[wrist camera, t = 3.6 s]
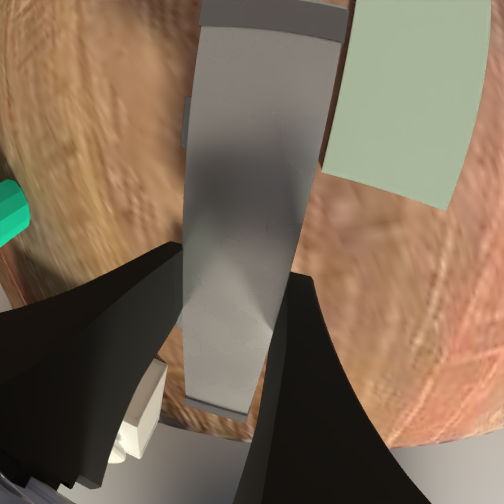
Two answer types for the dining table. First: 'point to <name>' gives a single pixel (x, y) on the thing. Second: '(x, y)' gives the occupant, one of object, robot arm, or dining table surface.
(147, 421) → the butter dish
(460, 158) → the mat
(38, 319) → the robot arm
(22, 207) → the candle
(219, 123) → the rail
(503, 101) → the dining table surface
